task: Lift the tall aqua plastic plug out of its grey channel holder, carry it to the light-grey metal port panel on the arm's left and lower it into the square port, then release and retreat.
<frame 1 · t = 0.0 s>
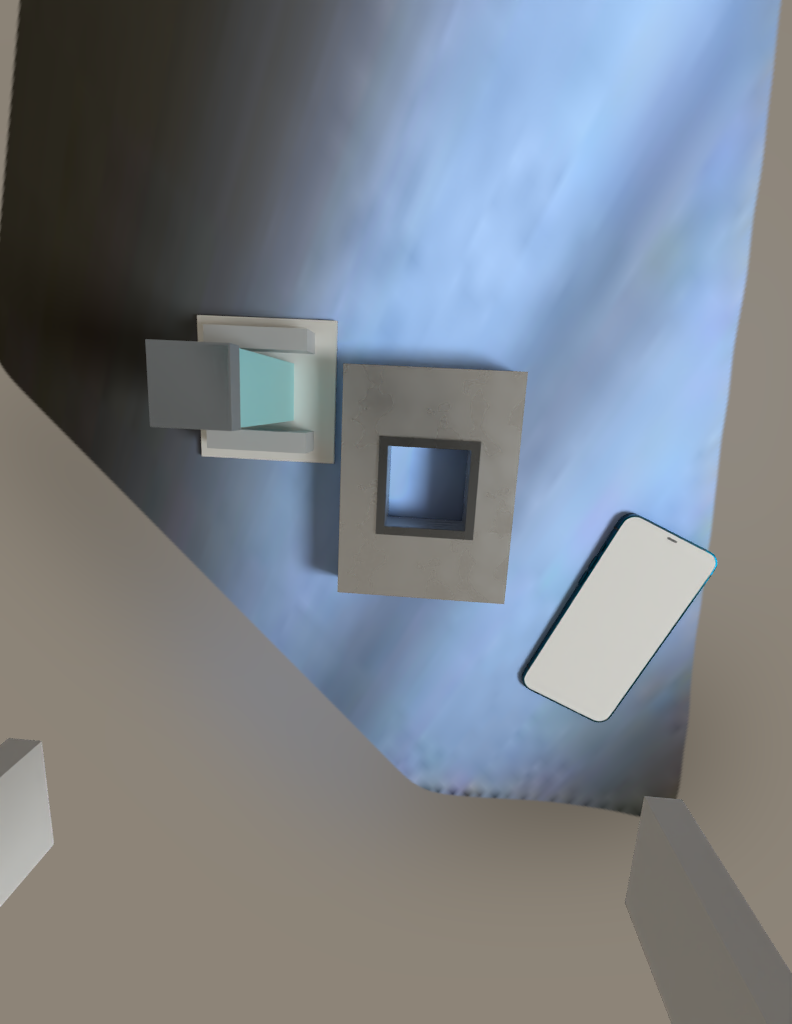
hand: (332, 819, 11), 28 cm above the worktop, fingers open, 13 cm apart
grey channel holder: (268, 391, 37), on the worktop
port panel: (427, 481, 37), on the worktop
plug: (266, 391, 36), resting on grey channel holder
smartphone: (611, 618, 39), on the worktop
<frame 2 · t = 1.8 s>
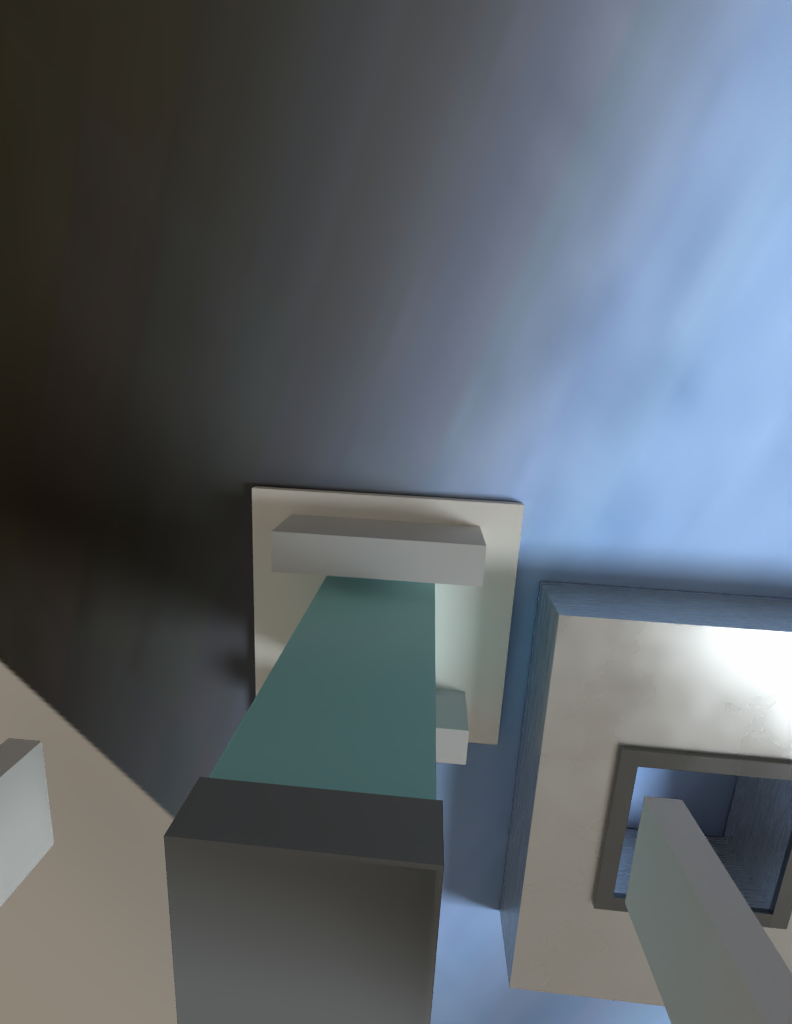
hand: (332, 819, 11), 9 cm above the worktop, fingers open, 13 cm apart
grey channel holder: (381, 617, 20), on the worktop
port panel: (666, 774, 21), on the worktop
plug: (380, 622, 20), resting on grey channel holder
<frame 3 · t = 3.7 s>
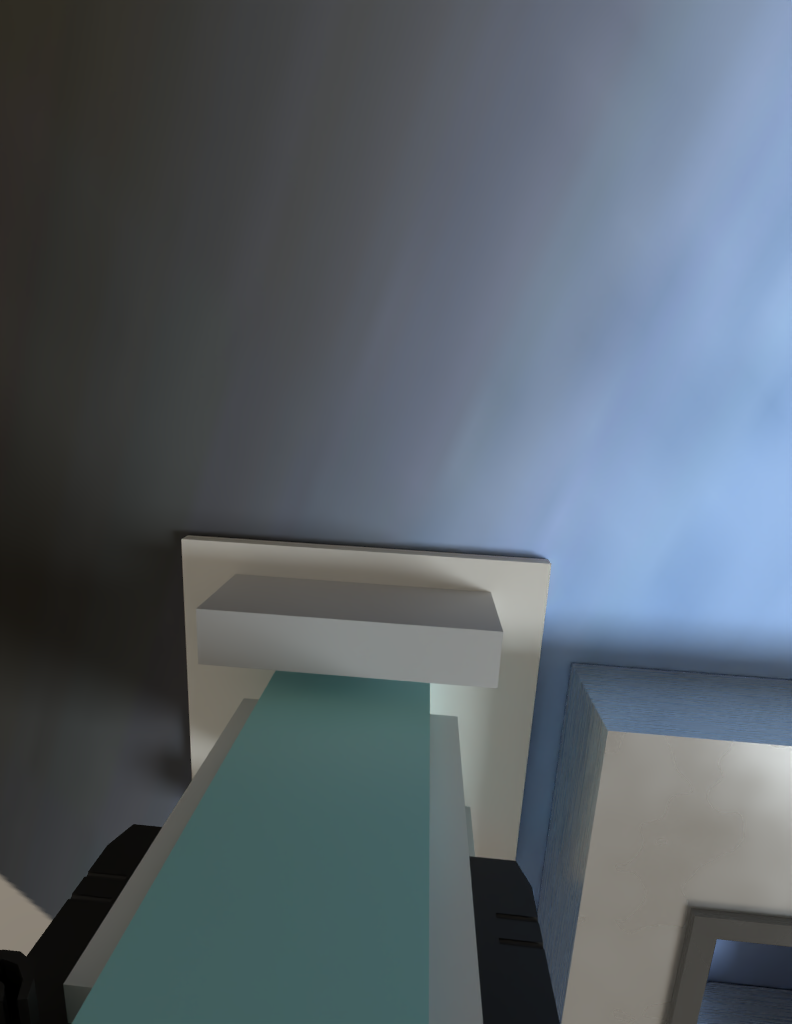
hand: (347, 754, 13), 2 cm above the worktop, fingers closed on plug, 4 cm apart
grey channel holder: (358, 708, 15), on the worktop
port panel: (735, 913, 16), on the worktop
plug: (356, 716, 15), resting on grey channel holder, touching gripper
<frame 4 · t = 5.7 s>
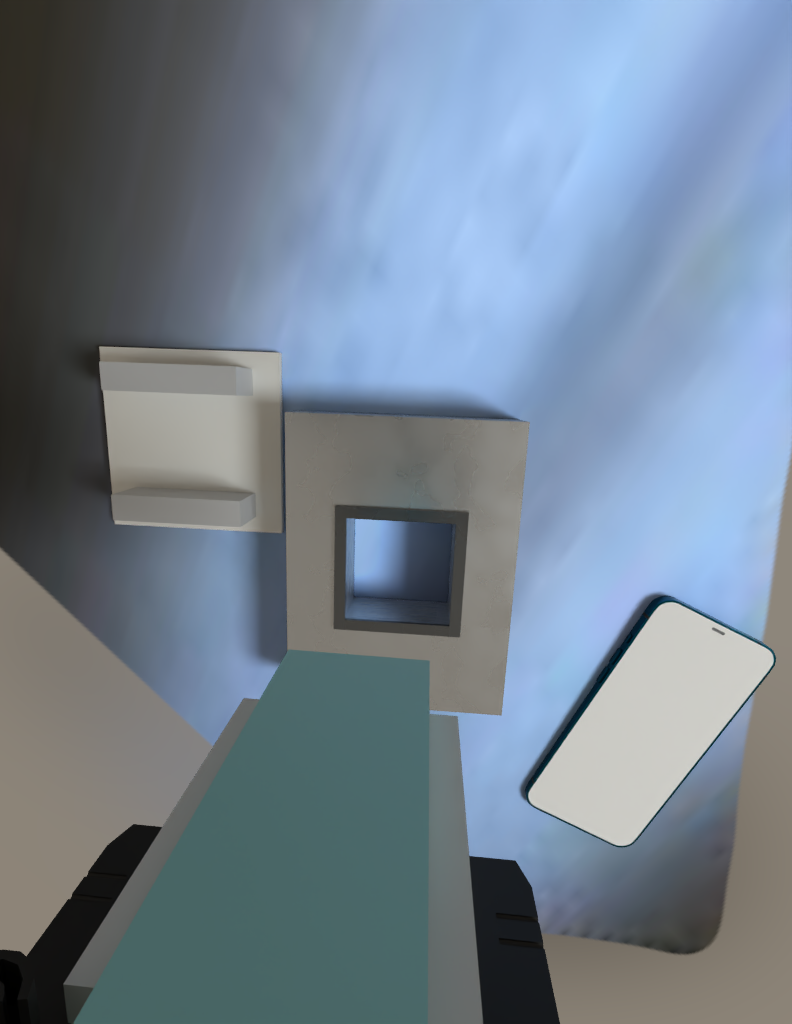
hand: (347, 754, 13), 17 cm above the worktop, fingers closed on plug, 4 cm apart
grey channel holder: (196, 442, 29), on the worktop
port panel: (402, 554, 29), on the worktop
plug: (356, 717, 15), point 15 cm above the worktop, touching gripper
smartphone: (637, 721, 31), on the worktop
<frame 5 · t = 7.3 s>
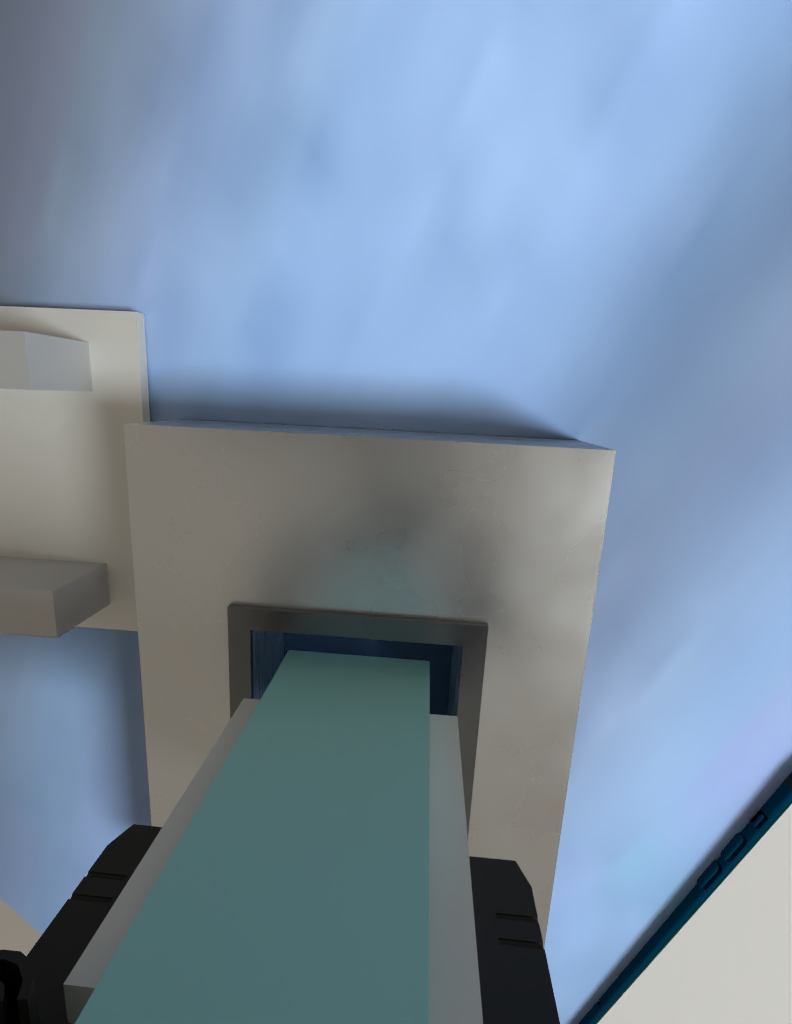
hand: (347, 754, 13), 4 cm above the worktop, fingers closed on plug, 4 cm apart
grey channel holder: (3, 472, 16), on the worktop
port panel: (366, 670, 17), on the worktop
plug: (356, 718, 15), point 2 cm above the worktop, touching gripper
smartphone: (757, 939, 19), on the worktop
when the fingers open (4 cm above the worktop, at t = 8.2 s): plug drops 2 cm, resting in port panel.
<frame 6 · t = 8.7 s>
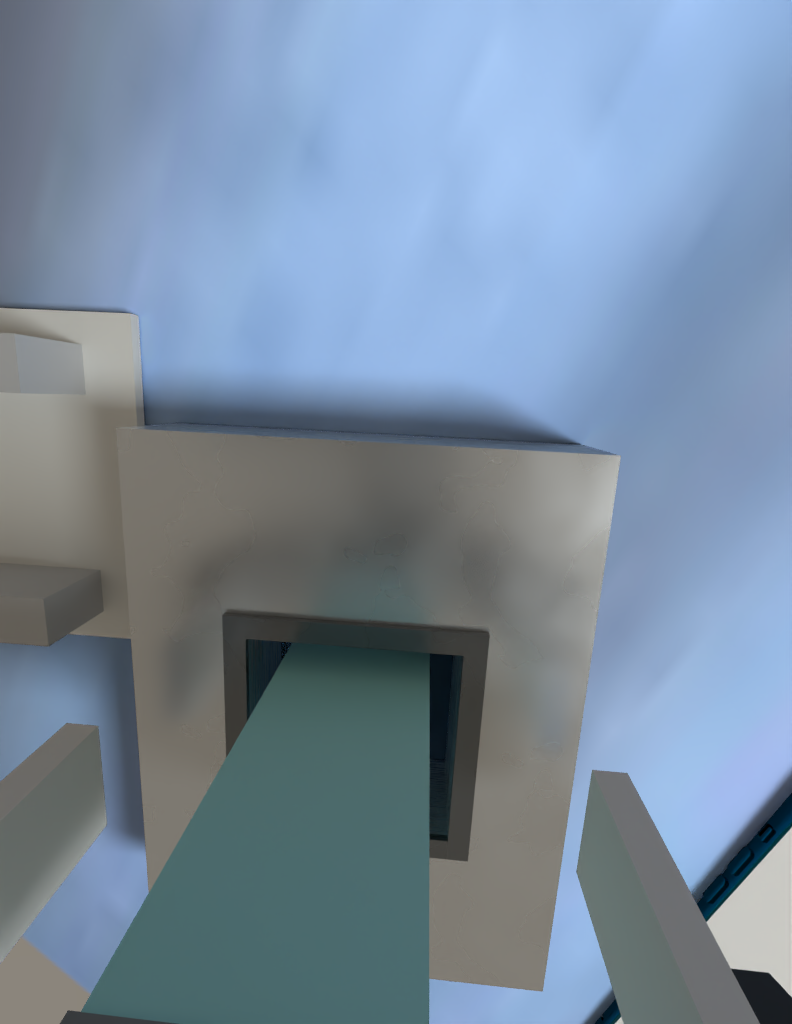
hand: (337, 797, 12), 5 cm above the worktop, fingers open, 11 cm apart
port panel: (365, 679, 17), on the worktop
plug: (365, 679, 17), resting in port panel
smartphone: (763, 954, 19), on the worktop
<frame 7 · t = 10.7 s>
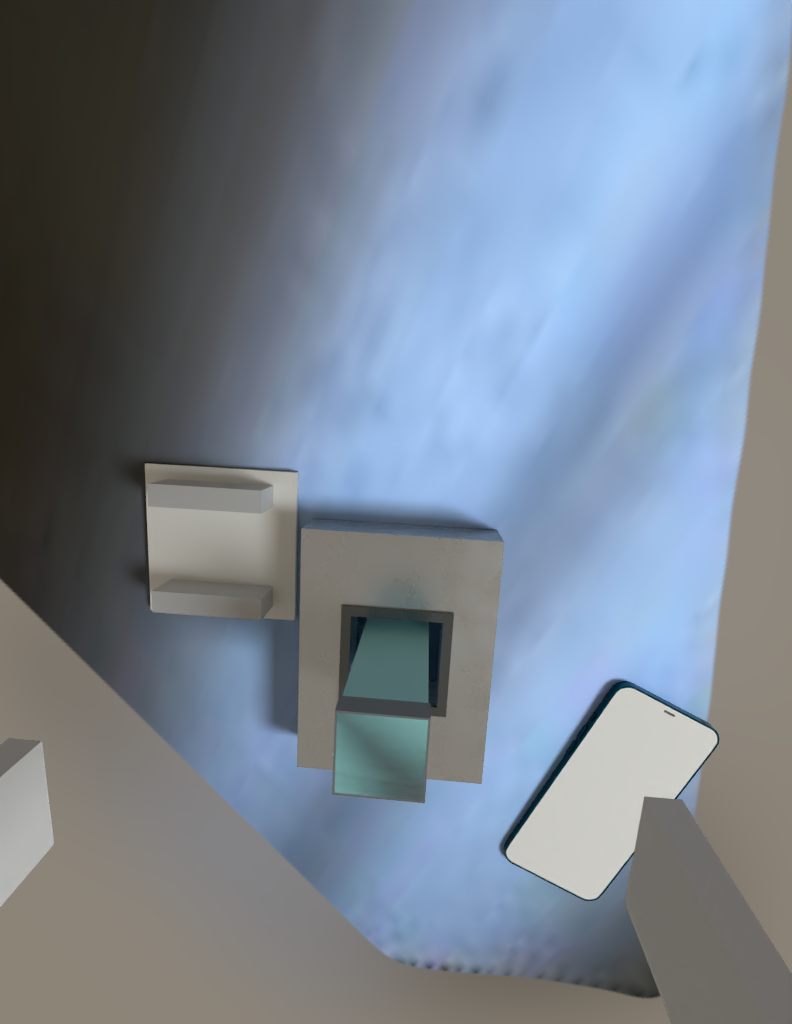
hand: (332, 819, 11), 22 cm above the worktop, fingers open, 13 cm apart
grey channel holder: (223, 542, 34), on the worktop
port panel: (397, 639, 34), on the worktop
plug: (397, 640, 34), resting in port panel
smartphone: (602, 787, 36), on the worktop
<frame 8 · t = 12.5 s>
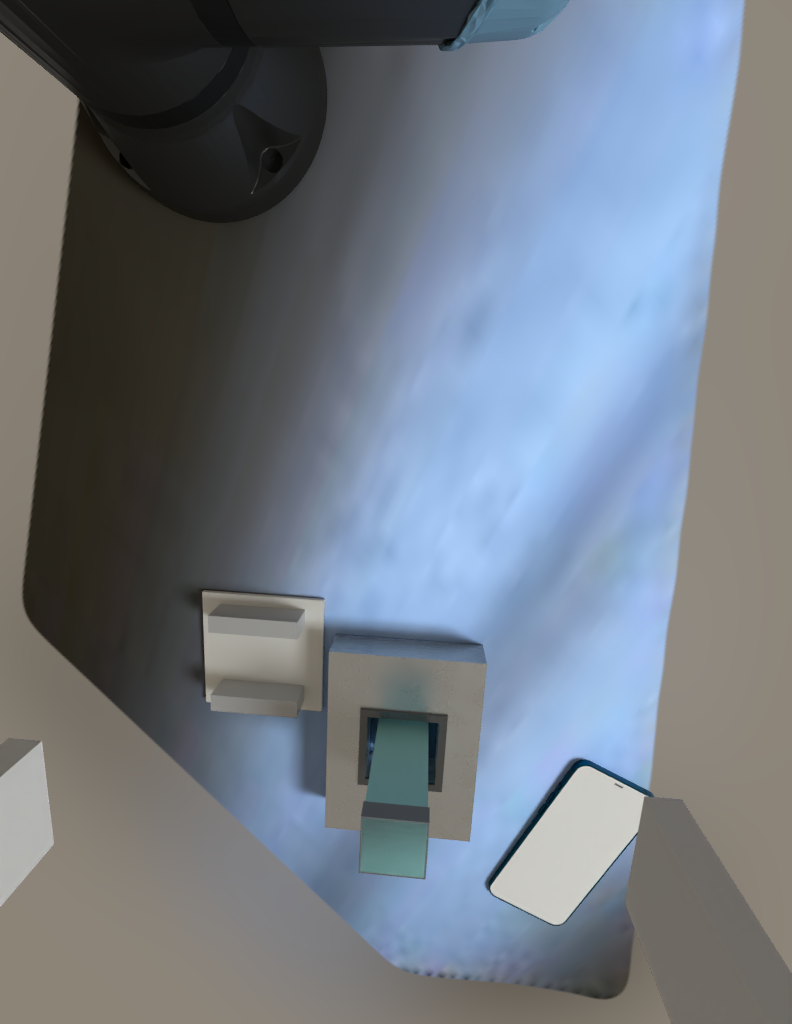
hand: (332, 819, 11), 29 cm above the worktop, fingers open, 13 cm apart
grey channel holder: (264, 650, 42), on the worktop
port panel: (403, 726, 43), on the worktop
plug: (403, 726, 43), resting in port panel
smartphone: (567, 838, 45), on the worktop
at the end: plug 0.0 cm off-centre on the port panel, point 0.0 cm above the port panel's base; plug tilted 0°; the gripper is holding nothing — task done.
